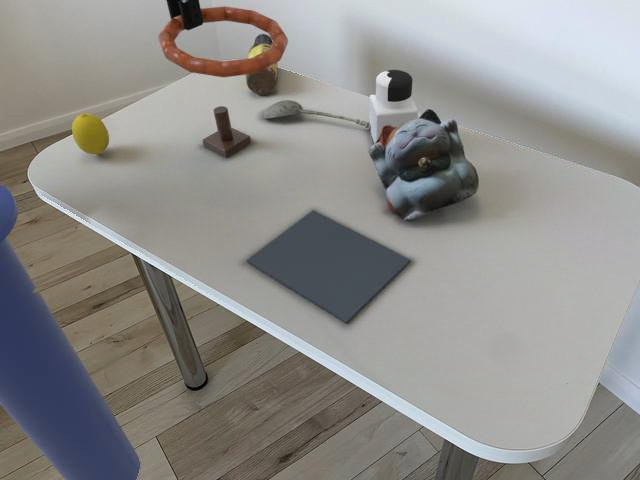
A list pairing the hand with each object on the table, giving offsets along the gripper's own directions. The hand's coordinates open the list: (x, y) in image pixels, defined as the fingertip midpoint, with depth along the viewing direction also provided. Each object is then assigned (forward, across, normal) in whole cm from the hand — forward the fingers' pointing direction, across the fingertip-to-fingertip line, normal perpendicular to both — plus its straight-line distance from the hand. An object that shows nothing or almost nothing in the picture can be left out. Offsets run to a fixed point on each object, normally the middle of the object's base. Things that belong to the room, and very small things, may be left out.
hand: (187, 24), depth 82 cm
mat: (+22, +34, -10) cm, 42 cm away
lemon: (+22, -16, -13) cm, 31 cm away
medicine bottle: (+22, +23, +22) cm, 39 cm away
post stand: (+22, 0, +3) cm, 22 cm away
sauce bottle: (+19, -7, +19) cm, 28 cm away
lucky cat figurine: (+22, +36, +10) cm, 44 cm away
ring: (+1, +8, 0) cm, 8 cm away
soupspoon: (+22, +8, +18) cm, 30 cm away
